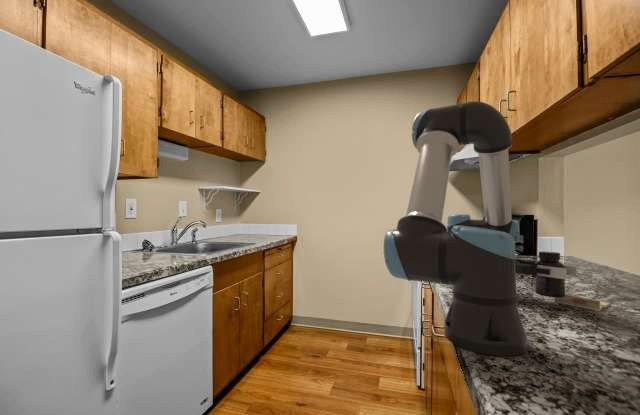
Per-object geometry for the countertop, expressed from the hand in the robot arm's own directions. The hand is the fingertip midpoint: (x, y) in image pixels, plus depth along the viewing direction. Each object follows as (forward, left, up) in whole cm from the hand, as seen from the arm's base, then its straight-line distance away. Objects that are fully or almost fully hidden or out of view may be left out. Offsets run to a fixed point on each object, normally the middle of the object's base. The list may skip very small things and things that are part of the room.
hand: (571, 272), depth 82 cm
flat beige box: (+11, +1, -10) cm, 15 cm away
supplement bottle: (0, +5, -7) cm, 9 cm away
